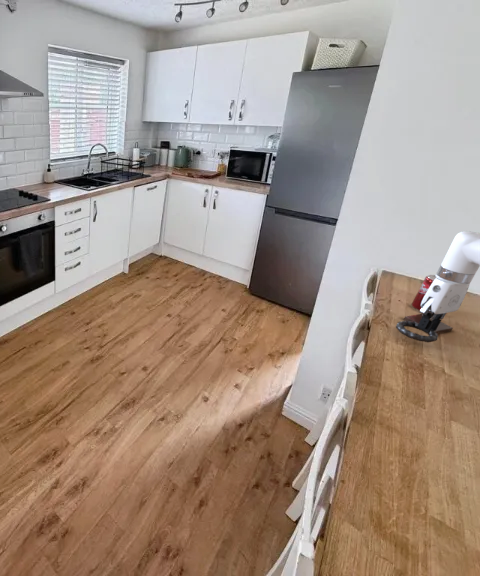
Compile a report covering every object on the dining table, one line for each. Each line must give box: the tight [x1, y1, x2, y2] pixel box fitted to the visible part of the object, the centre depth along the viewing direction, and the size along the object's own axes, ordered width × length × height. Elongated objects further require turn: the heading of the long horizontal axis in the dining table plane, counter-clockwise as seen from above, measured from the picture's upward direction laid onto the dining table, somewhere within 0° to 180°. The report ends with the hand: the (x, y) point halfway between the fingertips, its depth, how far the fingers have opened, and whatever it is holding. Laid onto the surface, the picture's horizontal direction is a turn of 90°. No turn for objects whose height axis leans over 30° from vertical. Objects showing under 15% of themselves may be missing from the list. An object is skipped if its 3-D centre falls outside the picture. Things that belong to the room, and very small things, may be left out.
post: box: [403, 311, 454, 334], centre depth 118 cm, size 9×9×14 cm
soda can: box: [411, 274, 436, 312], centre depth 128 cm, size 7×7×12 cm
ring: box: [395, 320, 439, 343], centre depth 112 cm, size 10×10×2 cm
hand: (426, 328), depth 113 cm, fingers closed on ring, 2 cm apart
